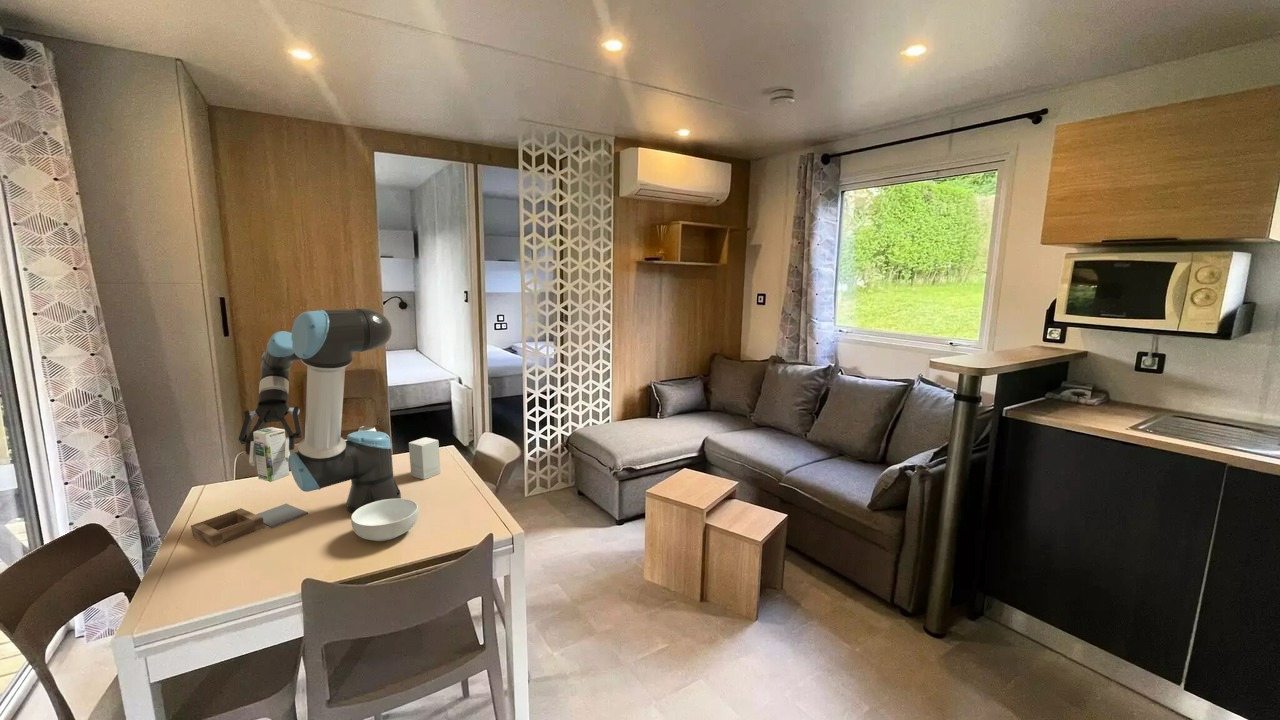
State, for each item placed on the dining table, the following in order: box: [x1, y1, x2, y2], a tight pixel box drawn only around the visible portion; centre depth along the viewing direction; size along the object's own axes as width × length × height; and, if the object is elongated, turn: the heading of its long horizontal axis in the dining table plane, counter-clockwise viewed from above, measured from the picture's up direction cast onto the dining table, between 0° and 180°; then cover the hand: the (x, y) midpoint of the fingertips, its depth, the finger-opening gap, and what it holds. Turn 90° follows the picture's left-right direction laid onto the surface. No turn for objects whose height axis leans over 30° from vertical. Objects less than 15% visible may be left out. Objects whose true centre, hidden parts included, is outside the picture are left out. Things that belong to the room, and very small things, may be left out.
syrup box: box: [253, 426, 290, 483], centre depth 150 cm, size 6×6×14 cm
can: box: [357, 425, 377, 432], centre depth 201 cm, size 6×6×12 cm
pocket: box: [190, 508, 265, 549], centre depth 143 cm, size 12×12×3 cm
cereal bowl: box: [350, 498, 419, 542], centre depth 143 cm, size 17×17×7 cm
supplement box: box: [408, 437, 441, 480], centre depth 184 cm, size 7×7×13 cm
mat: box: [255, 503, 309, 529], centre depth 153 cm, size 12×10×1 cm
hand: (269, 461), depth 147 cm, fingers closed on syrup box, 8 cm apart
